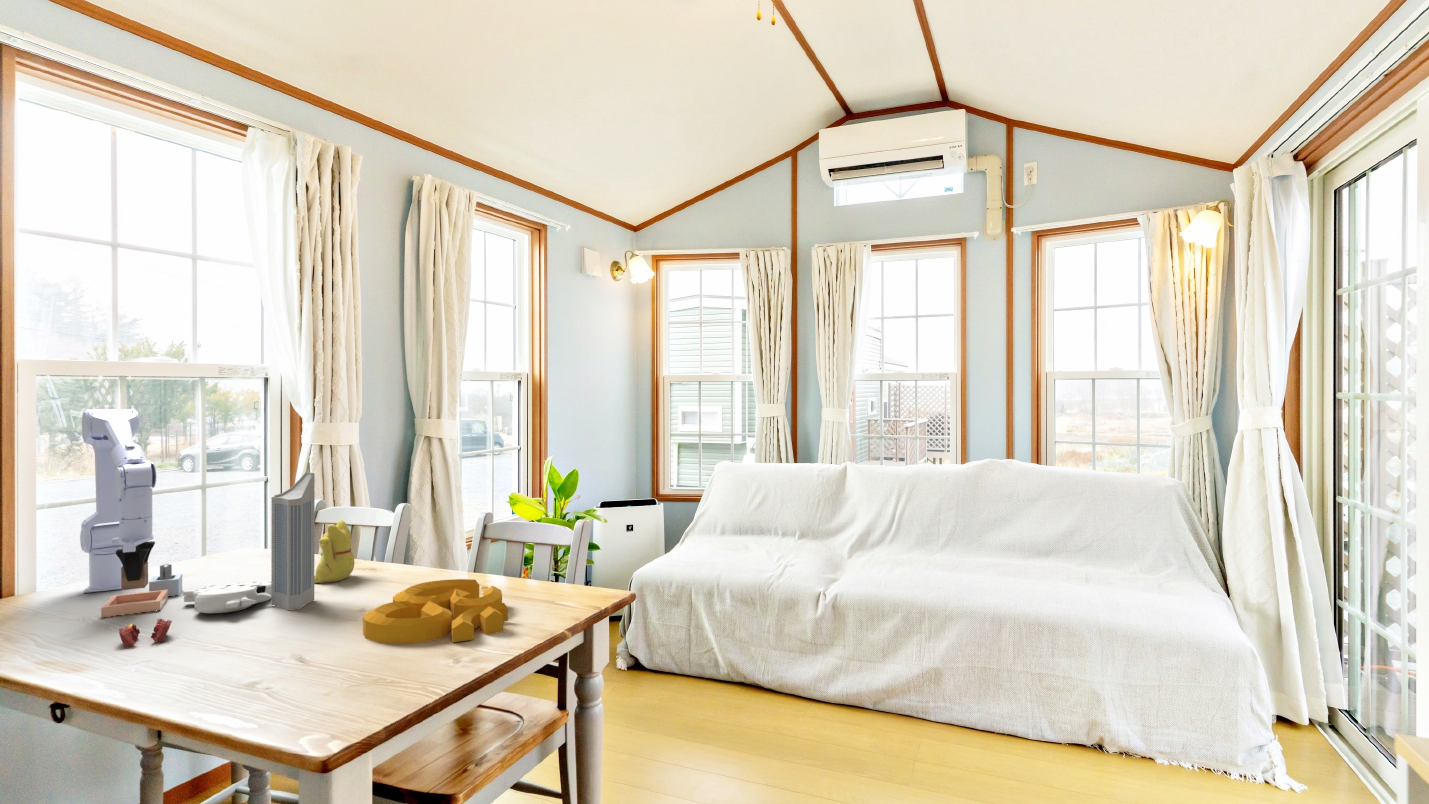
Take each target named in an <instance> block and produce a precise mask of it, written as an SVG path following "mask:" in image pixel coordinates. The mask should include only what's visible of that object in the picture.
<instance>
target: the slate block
mask: <svg viewBox="0 0 1429 804" xmlns="http://www.w3.org/2000/svg"><path fill="white" fill-rule="evenodd" d="M159 590H168V596H173V597H176V596H175V595H179V596H180V595H181V593H182V591H183V573H177V574H176V573H174V574H172V579H165V580H160V575H155V576H152V578H151V579H150V580H149V581H148V592H149V591H159Z"/></svg>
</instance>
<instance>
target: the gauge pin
mask: <svg viewBox="0 0 1429 804" xmlns="http://www.w3.org/2000/svg"><path fill="white" fill-rule="evenodd" d="M172 568H173V567H172V564H169V563H168V564H161V565H159V576H160V580H165V579H172V575H173V573H172V572H173V570H172Z"/></svg>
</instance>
